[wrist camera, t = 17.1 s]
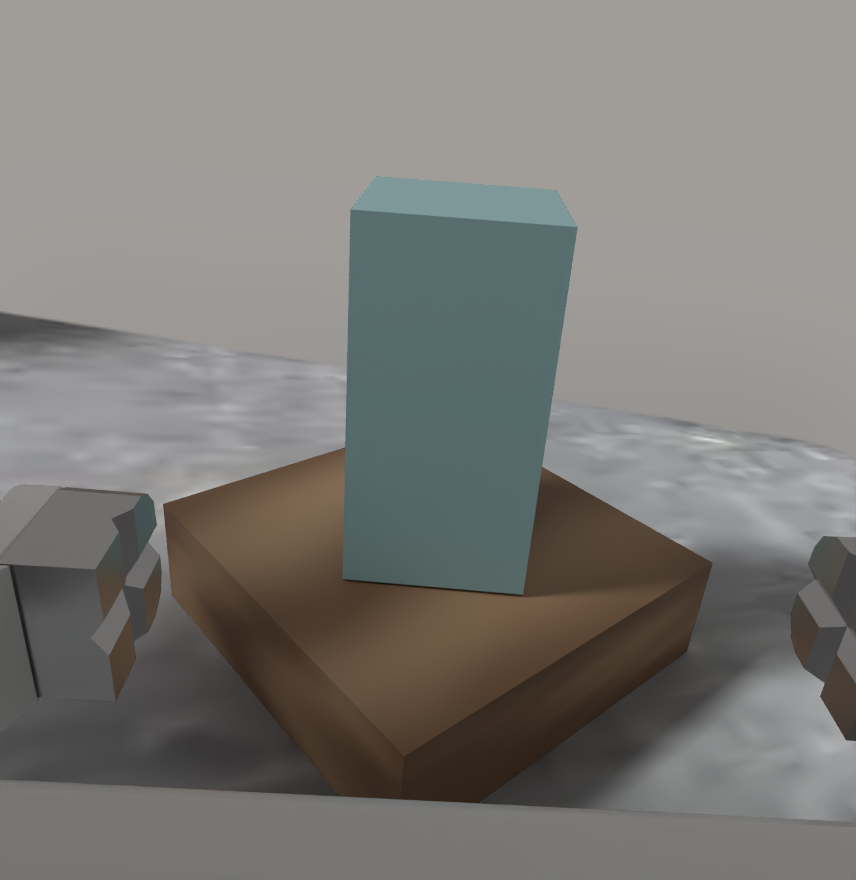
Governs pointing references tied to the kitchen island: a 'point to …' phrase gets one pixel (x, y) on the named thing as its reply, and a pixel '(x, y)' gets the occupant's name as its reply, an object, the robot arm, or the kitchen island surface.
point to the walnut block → (427, 632)
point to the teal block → (450, 378)
